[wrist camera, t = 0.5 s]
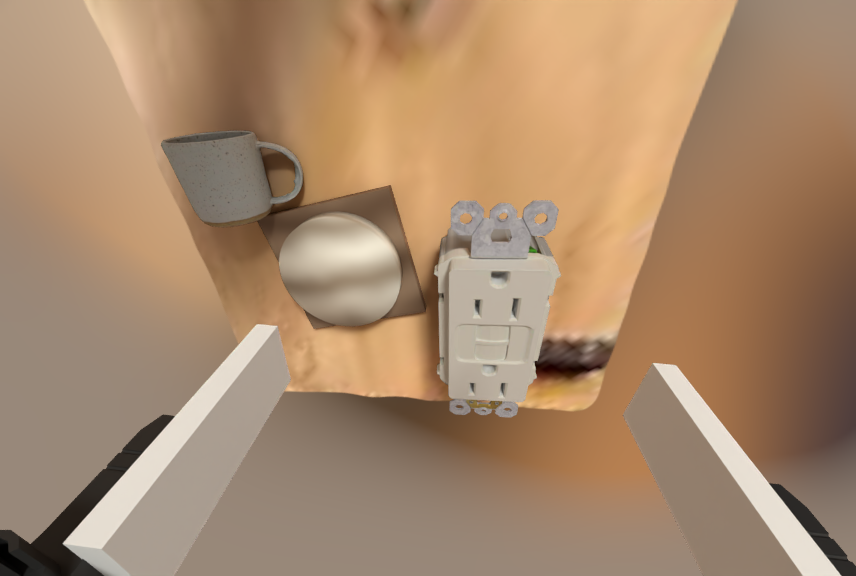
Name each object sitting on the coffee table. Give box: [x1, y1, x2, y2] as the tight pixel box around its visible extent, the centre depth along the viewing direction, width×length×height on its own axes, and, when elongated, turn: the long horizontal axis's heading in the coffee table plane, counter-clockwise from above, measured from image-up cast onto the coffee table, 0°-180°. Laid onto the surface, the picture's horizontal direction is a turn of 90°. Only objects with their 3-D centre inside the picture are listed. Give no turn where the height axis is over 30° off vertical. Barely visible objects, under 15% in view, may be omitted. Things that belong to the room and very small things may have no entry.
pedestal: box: [258, 185, 426, 329], centre depth 38 cm, size 16×16×4 cm
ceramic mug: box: [161, 131, 303, 227], centre depth 32 cm, size 11×8×8 cm
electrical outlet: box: [434, 200, 561, 417], centre depth 36 cm, size 12×28×10 cm, turn 1°
